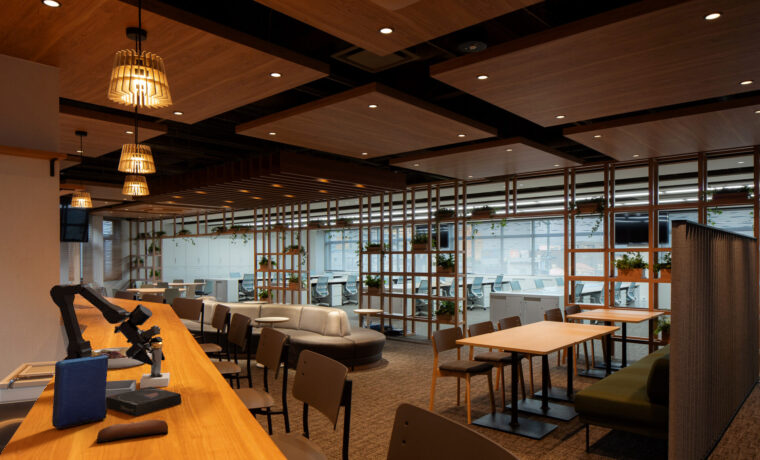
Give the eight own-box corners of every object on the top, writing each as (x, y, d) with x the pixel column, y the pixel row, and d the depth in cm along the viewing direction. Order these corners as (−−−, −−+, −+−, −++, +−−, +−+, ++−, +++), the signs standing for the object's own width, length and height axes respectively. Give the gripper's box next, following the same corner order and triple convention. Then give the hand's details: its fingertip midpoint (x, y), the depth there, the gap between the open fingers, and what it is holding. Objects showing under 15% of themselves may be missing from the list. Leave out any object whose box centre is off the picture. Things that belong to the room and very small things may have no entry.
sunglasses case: (165, 425, 149) (167, 408, 146) (166, 443, 144) (169, 427, 141) (96, 434, 140) (97, 417, 138) (95, 454, 135) (96, 437, 132)
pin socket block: (139, 387, 190) (140, 379, 190) (142, 381, 200) (143, 374, 200) (168, 386, 194) (168, 378, 194) (169, 380, 203) (169, 372, 203)
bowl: (84, 359, 240) (85, 343, 241) (152, 355, 253) (152, 339, 253) (75, 372, 213) (76, 354, 214) (152, 367, 226) (153, 350, 226)
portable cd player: (181, 405, 171) (182, 393, 171) (135, 418, 156) (136, 405, 157) (151, 397, 179) (152, 386, 180) (105, 409, 165) (106, 397, 165)
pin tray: (87, 401, 171) (88, 391, 171) (95, 391, 184) (96, 381, 184) (131, 398, 176) (131, 388, 176) (135, 388, 189) (136, 379, 189)
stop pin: (148, 385, 194) (150, 344, 195) (149, 382, 198) (151, 342, 199) (160, 384, 195) (162, 343, 196) (161, 382, 199) (163, 342, 200)
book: (102, 416, 156) (105, 352, 157) (109, 420, 152) (112, 354, 154) (49, 428, 145) (53, 358, 146) (56, 432, 141) (60, 361, 142)
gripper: (134, 322, 189) (161, 352, 188) (159, 316, 208) (183, 344, 206) (113, 342, 189) (140, 373, 188) (140, 335, 208) (164, 362, 206)
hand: (158, 362), depth 197 cm, fingers open, 9 cm apart
